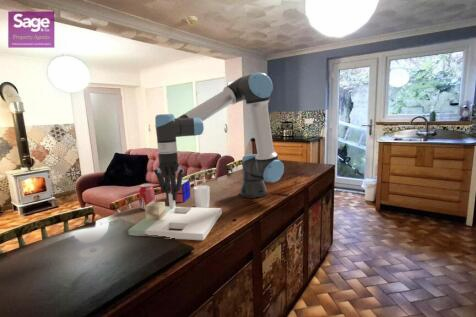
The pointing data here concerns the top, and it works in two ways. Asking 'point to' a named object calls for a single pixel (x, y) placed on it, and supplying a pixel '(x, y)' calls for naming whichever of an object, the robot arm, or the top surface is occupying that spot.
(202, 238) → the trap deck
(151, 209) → the maple block
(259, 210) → the top surface
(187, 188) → the puzzle cube
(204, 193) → the white cup
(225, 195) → the top surface
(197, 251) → the top surface
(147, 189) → the soda can
